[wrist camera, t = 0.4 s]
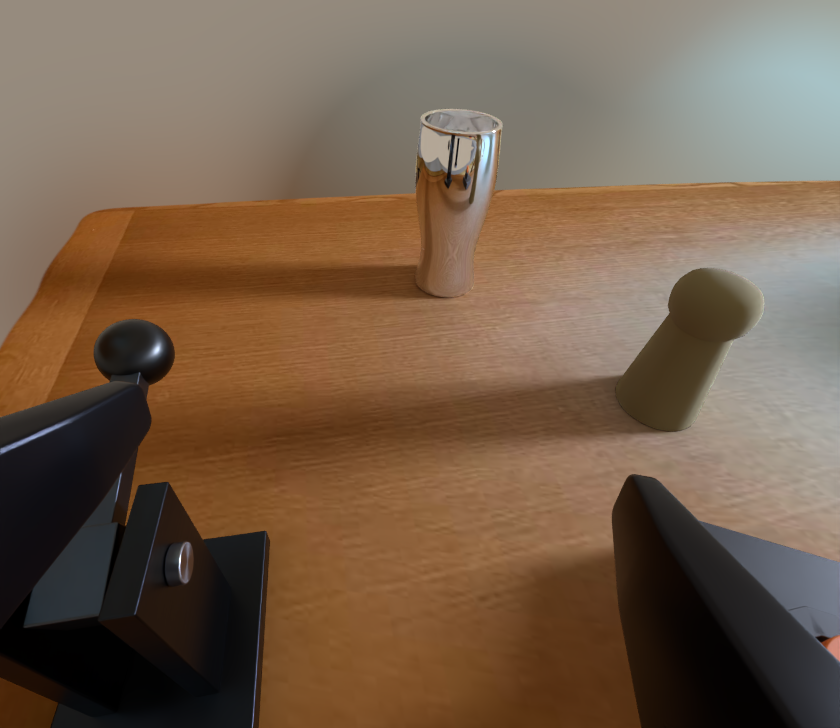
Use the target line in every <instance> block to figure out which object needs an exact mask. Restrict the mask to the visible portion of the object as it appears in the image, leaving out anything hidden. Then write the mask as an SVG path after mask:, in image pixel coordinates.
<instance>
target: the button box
mask: <svg viewBox="0 0 840 728" xmlns="http://www.w3.org/2000/svg"><path fill="white" fill-rule="evenodd" d="M699 522H700V523H701V524H702V525H703V526H704V527H705V528H706V529H707V530H708V531H709V532H710V533H711V534H712V535H713V536H714V537H715V538H716V539H717V540H718V541H719V542H720V543H721V544H722V545H723V546H724V547H725V548H726V549H727V550H728V551H729V552H730V553H731V554H732V555H733V556H734V557H735V558H736V559H737V560H738V561H739V562H740V563H741V564H742V565H743V566H744V567H745V568H746V569H747V570H748V571H749V572H750V573H751V574H752V575H753V576H754V577H755V578H756V579H757V580H758V581H759V582H760V583H761V584H762V585H763V586H764V587H765V588H766V589H767V590H768V591H769V592H770V593H771V594H772V595H773V596H774V597H775V598H776V599H777V600H778V601H779V602H780V603H781V604H782V605H783V606H784V607H785V608H786V609H787V610H788V611H789V612H790V613H791V614H792V615H793V616H794V617H795V618H796V619H797V620H798V621H799V622H800V623H801V624H802V625H803V626H804V627H805V628H806V629H807V630H808V631H809V632H810V633H811V634H812V635H813V636H814V637H815V638H816V639H817V640H818V641H819V642H820V643H821V642H823V641H825V640H827V639H830V638H832V637H834V636H838V635H840V562H837V561H833V560H830V559H826V558H823V557H820V556H816V555H813V554H810V553H806V552H803V551H799V550H796V549H793V548H789V547H786V546H783V545H779V544H776V543H772V542H769V541H766V540H762V539H759V538H756V537H752V536H749V535H745V534H742V533H739V532H735V531H732V530H729V529H725V528H722V527H718V526H715V525H712V524H708V523H705V522H702V521H699Z"/></svg>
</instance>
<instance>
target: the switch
mask: <svg viewBox="0 0 840 728" xmlns="http://www.w3.org/2000/svg"><path fill="white" fill-rule="evenodd" d="M174 358H175V350H174V346H173V343H172V341H171V339H170V337H169V336H168V334H167V333H166V332H165V331H164V330H163V329H162V328H160V327H159V326H157V325H155V324H153V323H151V322H148V321H145V320H139V319H129V320H123V321H119V322H116V323H114V324H112V325H110V326H109V327H107V328H106V329H105V330H104V331H103V332H102V333H101V334H100V335H99V337H98V339H97V340H96V343H95V346H94V359H95V363H96V366H97V368H98V369H99V371H100V372H101V373H102V374H103V375H104V376H105V377H106V378H107V379H108V380H110V382H113V381H125V382H131V383H136V384H138V385H140V386H141V387H142V388H143V390H144V393H145V397H146V399H147V393H148V387H149V385H152V384H154V383H156V382H158V381H160V380H161V379H162V378H163V377H165V376H166V375H167V373H168V372H169V371H170V369H171V367H172V365H173V362H174ZM137 452H138V448H137V449H136V451H135V452H134V454H133V456H132V457H131V459H130V460H129V462H128V463H127V465H126V466H125V468H124V469H123V471H122V472H121V474H120V476H119V477H118V479H117V480H116V482H115V483H114V485H113V486H112V488H111V489H110V491H109V492H108V494H107V495H106V496H105V498H104V499H103V501H102V502H101V503H100V505H99V506H98V507H97V509H96V510H95V511H94V512H93V514H92V515H91V516H90V517H89V519H88V520H87V521H86V522H85V524H84V525H83V526H82V527H81V529H80V530H79V531H78V532H77V534H76V535H75V536H74V537H73V539H72V540H71V541H70V543H69V544H68V545H67V546H66V548H65V549H64V550H63V551H62V553H61V554H60V555H59V556H58V558H57V559H56V560H55V561H54V563H53V564H52V565H51V566H50V568H49V569H48V570H47V571H46V573H45V574H44V575H43V576H42V578H41V579H40V580H39V582H38V583H37V584H36V585H35V587H34V588H33V589H32V590H31V593H30V596H29V600H28V604H27V608H26V612H25V616H24V620H23V624H22V627H23V628H28V629H47V630H66V631H68V630H74V629H80V628H86V627H92V626H98V625H102V624H101V623H100V622H98V617H99V614H100V610H101V607H102V604H103V600H104V597H105V594H106V591H107V587H108V584H109V581H110V578H111V574H112V571H113V568H114V564H115V561H116V558H117V555H118V551H119V548H120V545H121V542H122V538H123V535H124V532H125V528H126V526H125V522H126V516H127V510H128V504H129V498H130V492H131V487H132V481H133V475H134V469H135V463H136V457H137Z"/></svg>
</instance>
